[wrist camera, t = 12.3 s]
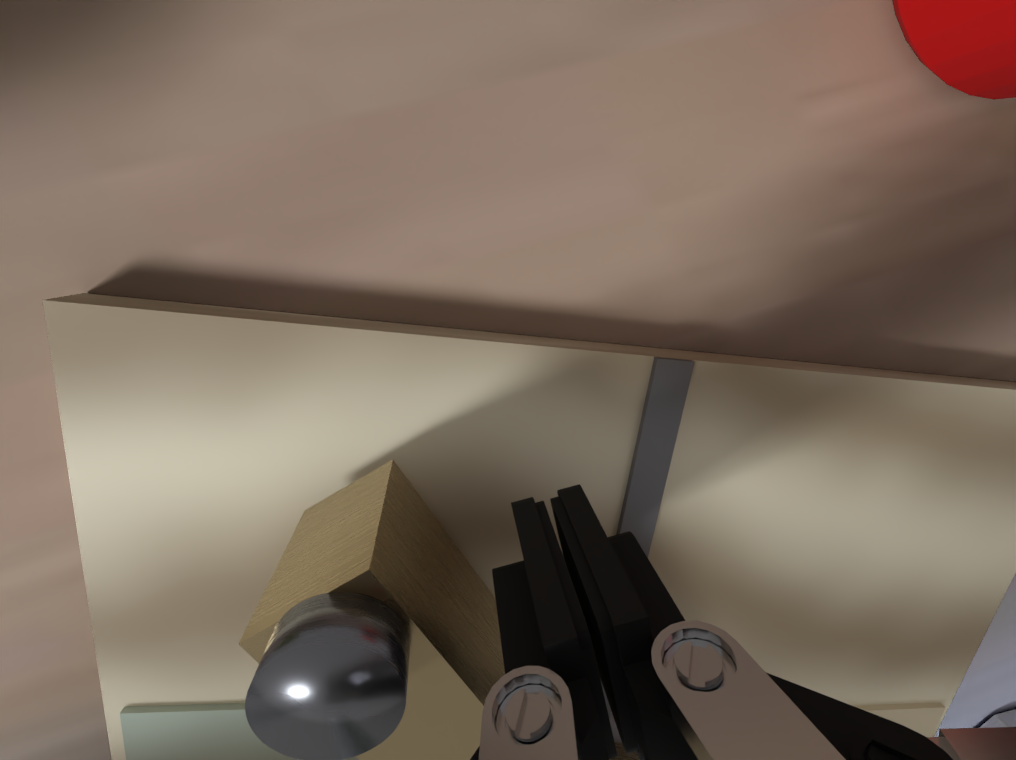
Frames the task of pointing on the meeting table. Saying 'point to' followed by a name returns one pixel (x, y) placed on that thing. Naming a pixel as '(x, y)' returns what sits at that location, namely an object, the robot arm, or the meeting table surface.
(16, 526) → the meeting table surface
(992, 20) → the soda can
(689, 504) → the lock board
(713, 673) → the robot arm
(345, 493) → the swing bar
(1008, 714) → the game console
